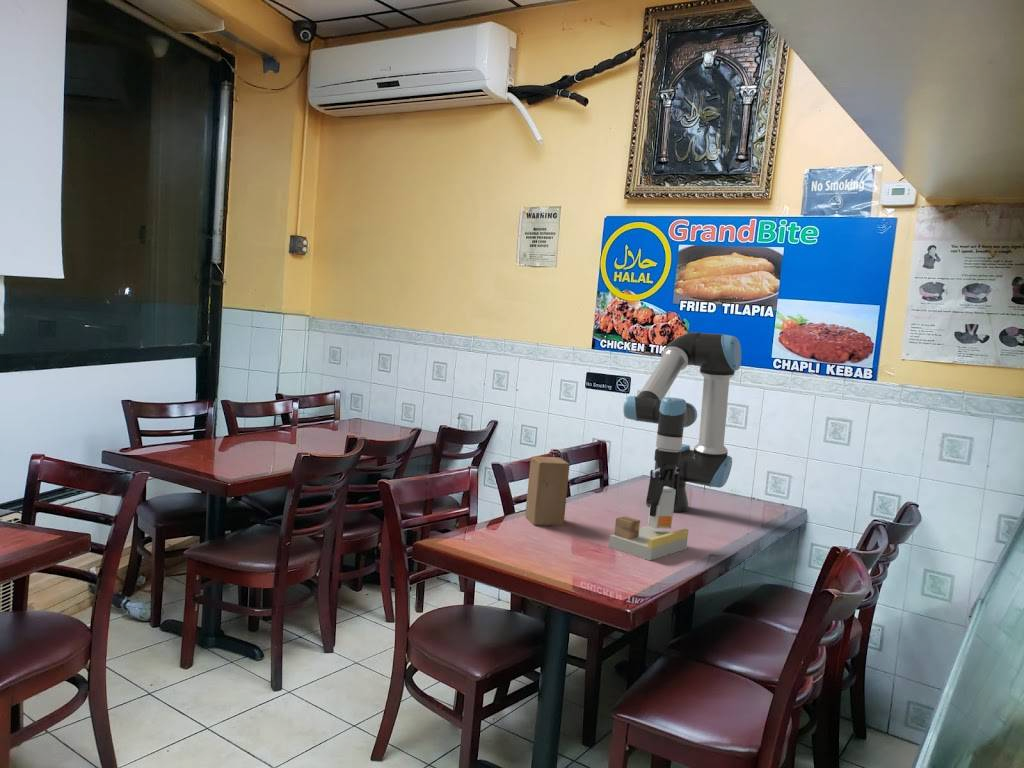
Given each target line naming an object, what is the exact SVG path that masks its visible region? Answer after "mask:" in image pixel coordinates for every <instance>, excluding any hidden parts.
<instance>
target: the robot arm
mask: <svg viewBox="0 0 1024 768" xmlns="http://www.w3.org/2000/svg"><path fill="white" fill-rule="evenodd" d="M660 356H661V357H660V358H661V359H660V360H659V362H658V364H657V366H656V367H655V369H654V370H653V372H652V373H651V375H650V376H649V378H648V379H647V381H646V382H645V384H644V386H643V387H642V389H641V390H640V392H639V393H638V395H637V396H636V395H629V396H626V398H625V400H624V402H623V408H622V409H623V416H624V418H626V419H628V420H632V421H635V422H643V423H644V422H645V423H649V424H650V423H651V424H657V431H656V433H657V434H656V437H655V438H656V442H655V443H656V444H655V447H656V448H655V450H654V457H653V458H654V461H655V462H654V469H651V470H650V472H649V474H650V475H649V476H650V477H649V482H648V483H649V484H648V487H647V488H648V490H647V496H646V500H645V501H646V502H645V504H647V505H646V506H648V507H649V506H650V507H649V509H650V515H649V514H648V517H649V524H648V523H647V526H650V527H655V528H657V527H658V518H659V509H660V506H658V504H659V501H660V497H661V494H662V491H663V487H664V486H668V487H671V488H673V489H675V490H676V494H675V502H674V509H673V513H680V512H681V511H683V512H686V510H687V511H688V510H689V499H688V495H687V490H686V484H687V483H691V484H695V485H696V484H697V485H701V486H706V487H709V488H723V487H724V486H725V485H726V484H727V482H728V479H729V476H730V473H731V470H732V467H733V458H732V456H730V455H728V452H729V450H728V448H727V447H726V446H725V435H726V425H727V424H726V422H727V411H728V399H729V389H730V379H731V378H733V377H734V376H735V372H736V371H739V370H740V368H741V362H742V346H741V343H740V341H739V339H738V338H737V337H736V336H734V335H729V334H721V333H707V332H699V331H692V332H688V333H684V334H682V335H680V336H678V337H675V339H672V341H670V342H669V343H667V345H666V346H665V347H664V349H663V351H661V355H660ZM687 366H694V367H696V366H697V367H699V373H700V374H701V375H702V376H703V383H702V384H703V385H702V387H703V388H702V397H701V398H702V399H701V400H702V401H701V411H700V423H699V424H700V425H699V435H698V436H699V437H698V443H697V444H696V445H695V446H693V449H691V445H689V444H685V443H683V436H684V428H688V427H690V426H692V425H693V424H695V422H696V421H697V418H698V411H697V409H696V408H697V407H695V406H694V405H693V404H692V403H689V402H687V401H686V400H685V399H683V398H679V397H670V396H669V397H667V393H668V392H669V390H670V388H671V387H672V385H673V384H674V382H675V380H676V378H677V376H678V375H679V374H680V372H681V371H683V370H684V369H686V368H687ZM681 513H682V512H681ZM657 529H658V528H657Z"/></svg>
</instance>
